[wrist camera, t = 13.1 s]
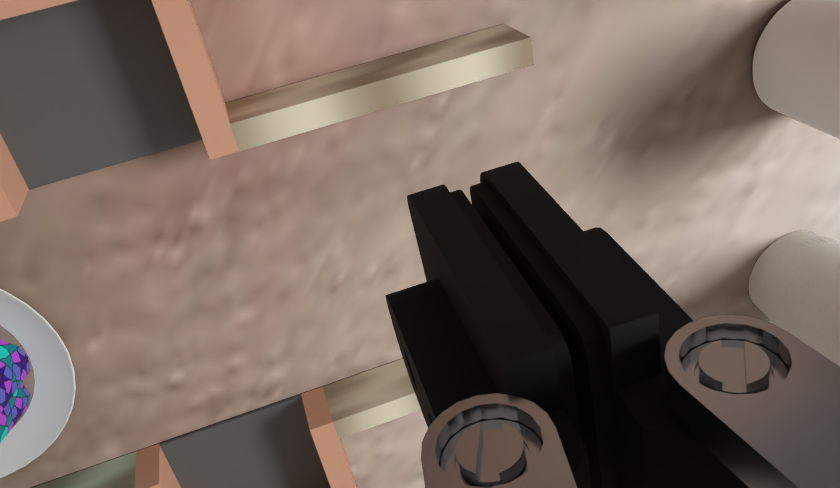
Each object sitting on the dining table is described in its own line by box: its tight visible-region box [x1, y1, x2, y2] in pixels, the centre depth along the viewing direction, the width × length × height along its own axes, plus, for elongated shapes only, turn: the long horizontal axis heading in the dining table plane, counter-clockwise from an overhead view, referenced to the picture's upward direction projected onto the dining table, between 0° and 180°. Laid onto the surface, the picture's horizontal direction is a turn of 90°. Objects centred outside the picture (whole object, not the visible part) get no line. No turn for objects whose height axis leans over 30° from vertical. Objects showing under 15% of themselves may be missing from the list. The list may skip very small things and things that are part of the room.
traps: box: [0, 0, 357, 488], centre depth 35 cm, size 10×31×3 cm, turn 11°
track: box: [32, 24, 534, 488], centre depth 35 cm, size 37×17×4 cm, turn 101°
